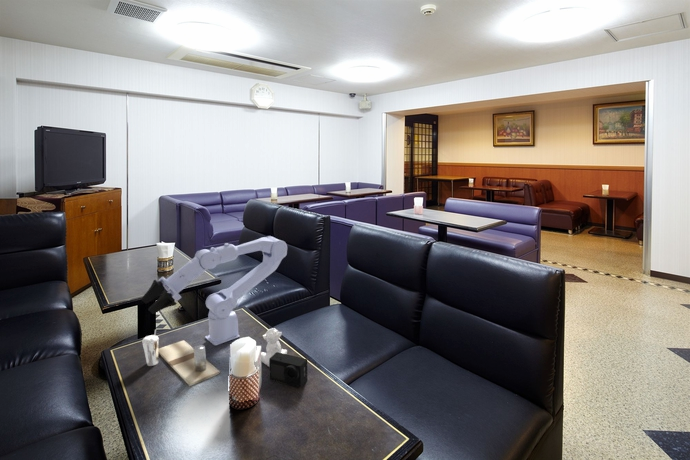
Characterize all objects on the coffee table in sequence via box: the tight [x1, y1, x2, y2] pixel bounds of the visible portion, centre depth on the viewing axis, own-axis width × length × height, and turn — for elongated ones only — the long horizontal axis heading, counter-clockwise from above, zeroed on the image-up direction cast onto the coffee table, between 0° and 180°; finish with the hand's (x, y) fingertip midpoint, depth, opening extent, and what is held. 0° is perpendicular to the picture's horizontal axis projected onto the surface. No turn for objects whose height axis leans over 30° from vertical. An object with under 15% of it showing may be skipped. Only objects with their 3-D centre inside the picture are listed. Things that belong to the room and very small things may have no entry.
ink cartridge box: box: [253, 345, 263, 401], centre depth 104 cm, size 9×5×15 cm, turn 5°
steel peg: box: [193, 344, 207, 372], centre depth 114 cm, size 3×3×7 cm
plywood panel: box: [158, 340, 220, 387], centre depth 119 cm, size 9×26×1 cm, turn 45°
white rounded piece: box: [141, 329, 160, 367], centre depth 118 cm, size 5×5×10 cm
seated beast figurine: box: [261, 327, 288, 368], centre depth 119 cm, size 10×9×12 cm
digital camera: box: [269, 352, 308, 389], centre depth 110 cm, size 10×5×7 cm, turn 69°
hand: (146, 306), depth 118 cm, fingers open, 7 cm apart
